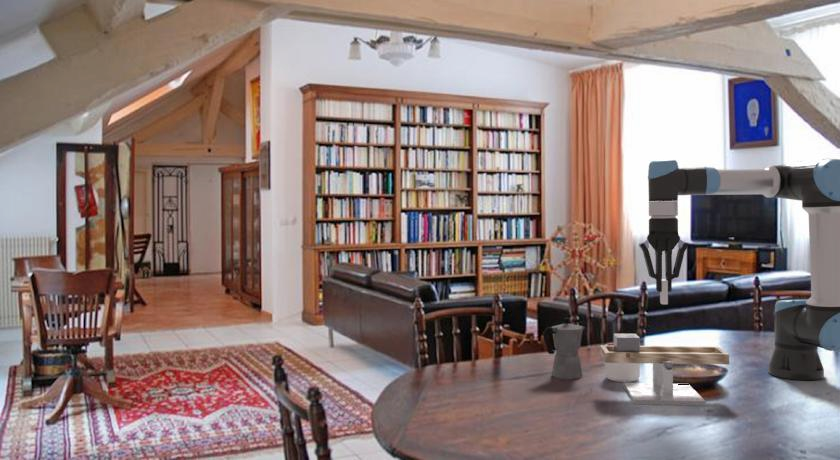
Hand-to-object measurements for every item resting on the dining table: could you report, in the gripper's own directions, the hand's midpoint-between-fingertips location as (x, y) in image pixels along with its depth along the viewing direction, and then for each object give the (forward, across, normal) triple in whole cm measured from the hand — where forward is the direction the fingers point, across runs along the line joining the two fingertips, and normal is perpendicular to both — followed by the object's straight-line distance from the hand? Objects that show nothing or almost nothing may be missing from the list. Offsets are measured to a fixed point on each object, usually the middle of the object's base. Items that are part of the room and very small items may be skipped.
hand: (663, 303), depth 195 cm
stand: (+25, +1, 0) cm, 25 cm away
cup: (+26, +9, -18) cm, 32 cm away
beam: (+15, 0, 0) cm, 15 cm away
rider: (+14, +10, 0) cm, 17 cm away
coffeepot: (+25, +26, -20) cm, 41 cm away
